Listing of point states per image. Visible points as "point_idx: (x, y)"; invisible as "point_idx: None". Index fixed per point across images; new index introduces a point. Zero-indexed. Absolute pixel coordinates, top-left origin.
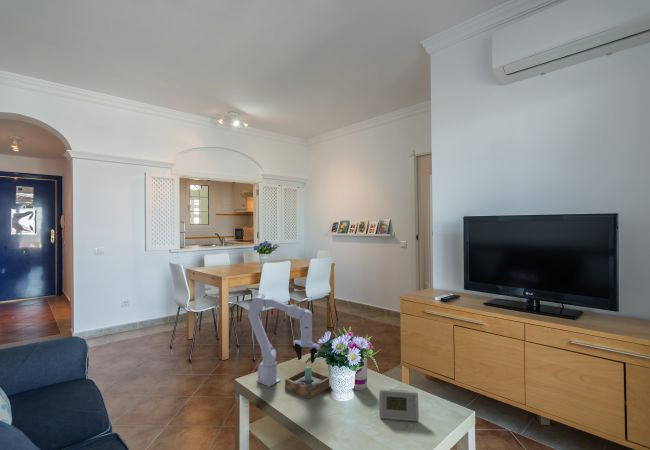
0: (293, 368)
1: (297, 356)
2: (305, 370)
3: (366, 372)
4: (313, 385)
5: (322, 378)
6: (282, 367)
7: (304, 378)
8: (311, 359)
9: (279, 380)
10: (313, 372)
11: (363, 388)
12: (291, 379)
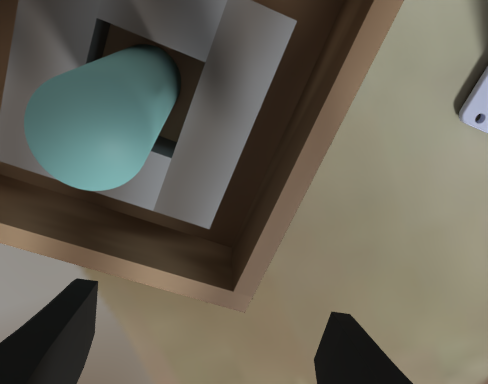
0: (390, 345)
1: (383, 352)
2: (128, 80)
3: None
4: (23, 1)
5: (25, 207)
6: (482, 334)
7: (204, 141)
8: (56, 316)
9: (468, 105)
10: (143, 260)
11: None
12: (339, 54)
